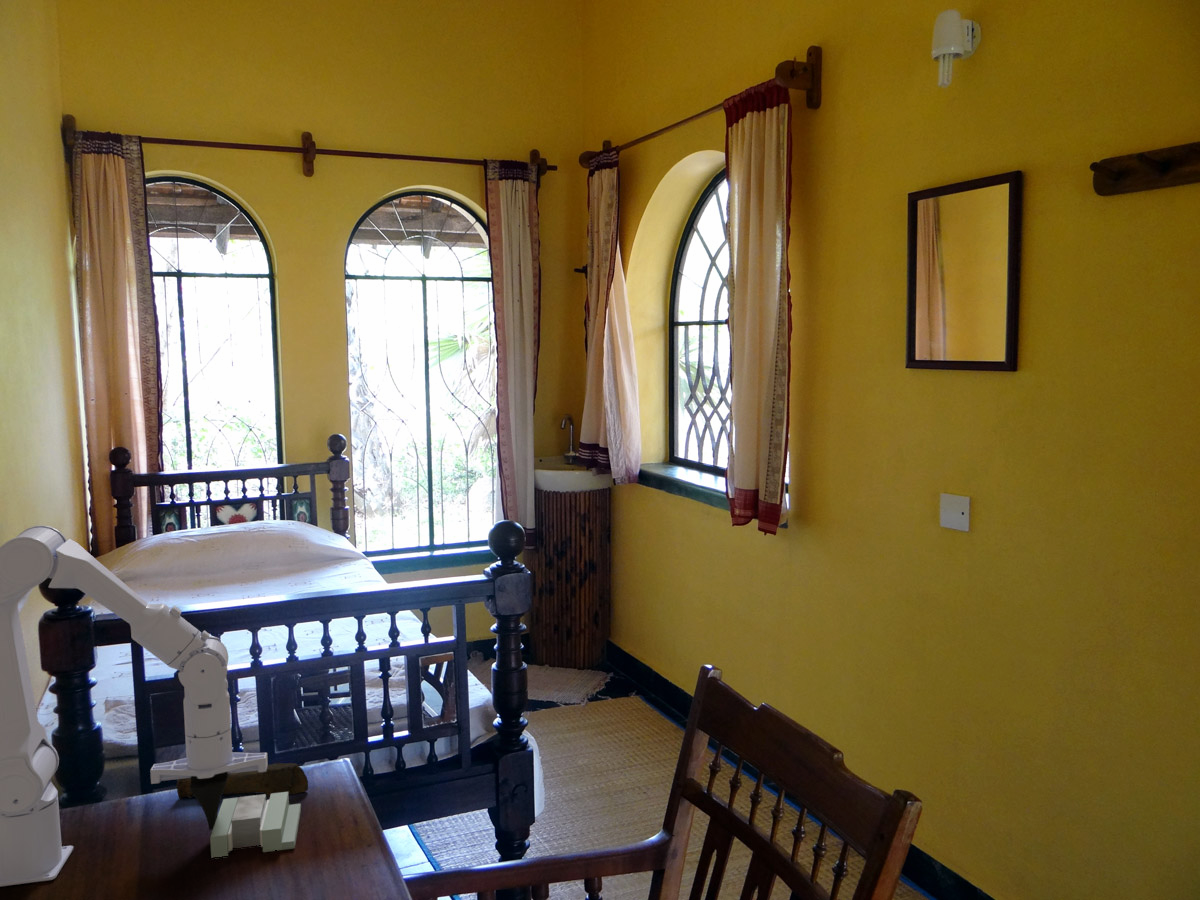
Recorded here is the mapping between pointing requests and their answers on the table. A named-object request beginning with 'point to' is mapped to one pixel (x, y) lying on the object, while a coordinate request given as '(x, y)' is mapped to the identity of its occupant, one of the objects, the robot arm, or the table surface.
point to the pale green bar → (279, 823)
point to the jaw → (223, 829)
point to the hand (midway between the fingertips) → (213, 826)
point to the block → (248, 820)
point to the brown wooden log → (258, 781)
